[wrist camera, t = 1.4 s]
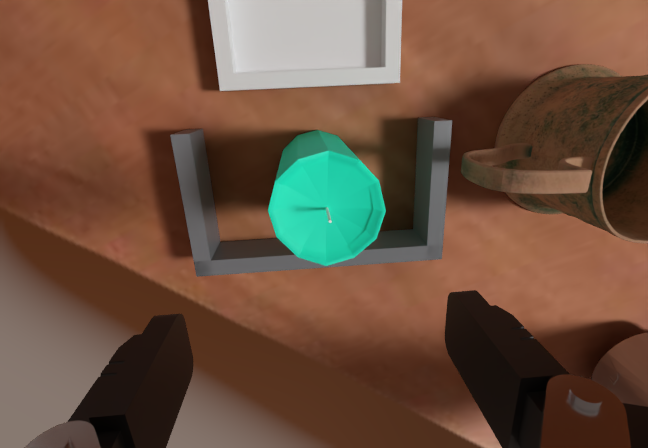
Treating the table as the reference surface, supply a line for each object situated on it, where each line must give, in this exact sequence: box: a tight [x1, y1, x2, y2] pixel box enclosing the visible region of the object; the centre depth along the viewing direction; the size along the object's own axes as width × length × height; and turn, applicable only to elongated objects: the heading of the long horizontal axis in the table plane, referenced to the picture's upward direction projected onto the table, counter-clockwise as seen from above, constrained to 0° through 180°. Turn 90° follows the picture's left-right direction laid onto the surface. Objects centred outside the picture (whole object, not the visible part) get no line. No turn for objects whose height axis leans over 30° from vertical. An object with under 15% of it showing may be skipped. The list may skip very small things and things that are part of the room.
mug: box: [461, 64, 648, 243], centre depth 23 cm, size 12×18×12 cm, turn 91°
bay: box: [170, 117, 452, 276], centre depth 27 cm, size 18×10×4 cm, turn 93°
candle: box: [268, 130, 386, 266], centre depth 22 cm, size 6×6×12 cm
